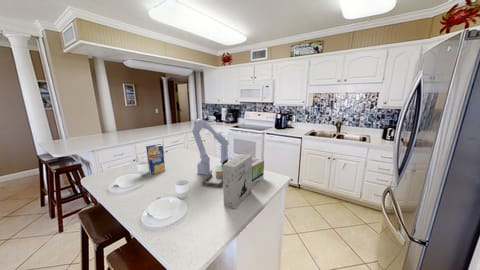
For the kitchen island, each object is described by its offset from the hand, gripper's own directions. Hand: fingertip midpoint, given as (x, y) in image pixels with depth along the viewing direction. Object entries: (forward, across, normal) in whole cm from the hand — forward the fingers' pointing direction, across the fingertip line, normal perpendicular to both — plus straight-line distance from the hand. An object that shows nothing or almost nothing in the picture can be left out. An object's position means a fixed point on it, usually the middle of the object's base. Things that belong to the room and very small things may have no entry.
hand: (224, 168), depth 151 cm
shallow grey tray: (+1, -22, 0) cm, 22 cm away
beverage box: (+2, -16, +54) cm, 56 cm away
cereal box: (+2, -39, -21) cm, 45 cm away
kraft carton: (+2, -9, 0) cm, 9 cm away
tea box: (+2, -14, -26) cm, 30 cm away
